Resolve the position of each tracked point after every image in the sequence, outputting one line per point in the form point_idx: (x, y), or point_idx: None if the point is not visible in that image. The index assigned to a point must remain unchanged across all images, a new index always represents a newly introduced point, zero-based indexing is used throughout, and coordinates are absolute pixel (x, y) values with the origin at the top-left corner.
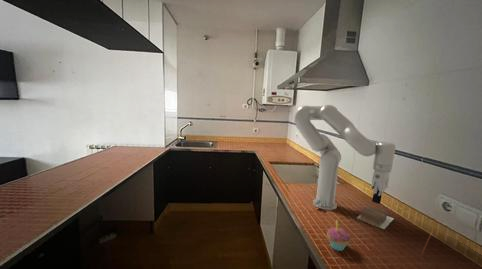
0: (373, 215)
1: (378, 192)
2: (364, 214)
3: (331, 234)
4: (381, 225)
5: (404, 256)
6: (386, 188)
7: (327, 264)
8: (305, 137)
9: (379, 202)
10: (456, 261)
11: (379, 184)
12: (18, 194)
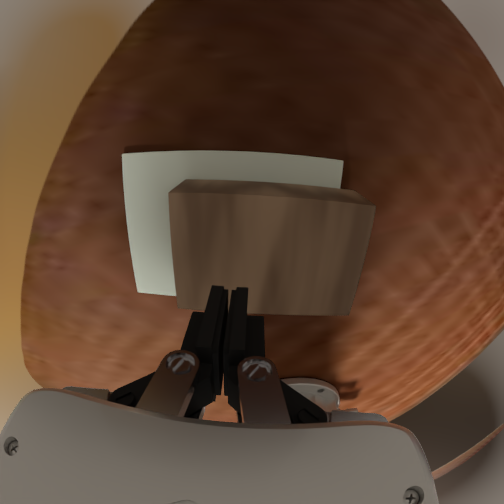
0: (340, 252)
1: (308, 420)
2: (352, 293)
3: None
4: (304, 181)
5: (480, 85)
6: (110, 426)
7: None
8: None
9: (247, 294)
10: None
11: None
12: (474, 453)
